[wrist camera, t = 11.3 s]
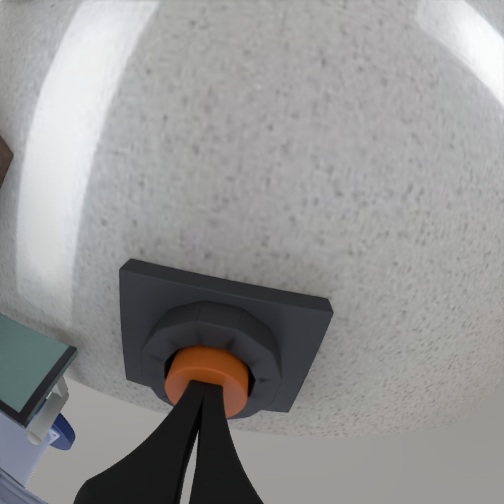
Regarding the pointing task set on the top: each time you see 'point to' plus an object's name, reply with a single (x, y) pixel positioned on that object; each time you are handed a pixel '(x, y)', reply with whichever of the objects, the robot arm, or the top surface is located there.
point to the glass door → (32, 377)
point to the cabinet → (4, 159)
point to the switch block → (219, 330)
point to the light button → (209, 375)
